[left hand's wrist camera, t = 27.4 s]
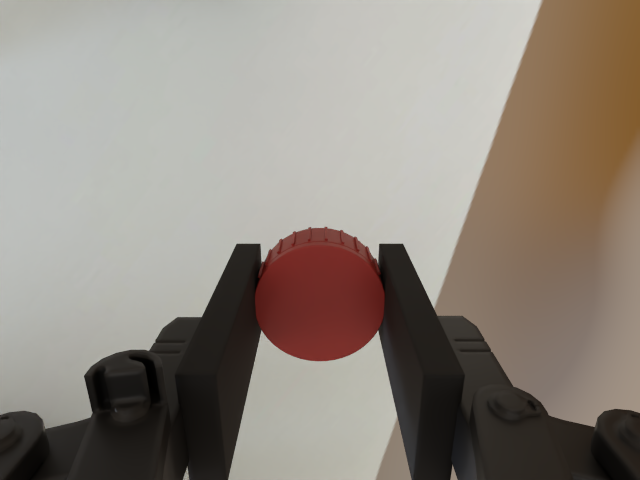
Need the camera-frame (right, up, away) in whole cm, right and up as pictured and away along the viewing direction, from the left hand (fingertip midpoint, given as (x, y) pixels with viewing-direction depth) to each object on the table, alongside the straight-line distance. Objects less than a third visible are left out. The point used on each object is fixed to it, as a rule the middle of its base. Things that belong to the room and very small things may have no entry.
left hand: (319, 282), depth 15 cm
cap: (0, 0, -1) cm, 1 cm away
